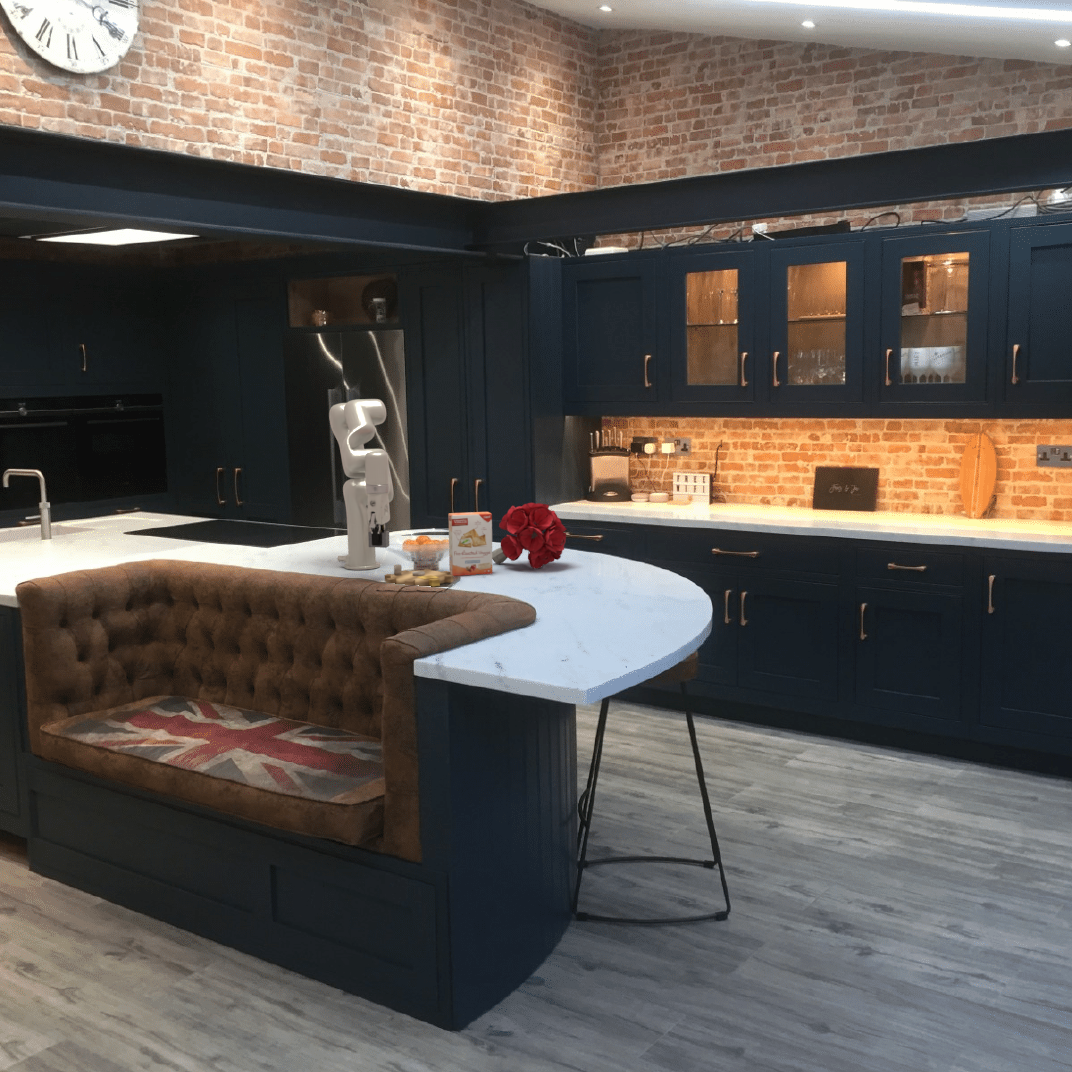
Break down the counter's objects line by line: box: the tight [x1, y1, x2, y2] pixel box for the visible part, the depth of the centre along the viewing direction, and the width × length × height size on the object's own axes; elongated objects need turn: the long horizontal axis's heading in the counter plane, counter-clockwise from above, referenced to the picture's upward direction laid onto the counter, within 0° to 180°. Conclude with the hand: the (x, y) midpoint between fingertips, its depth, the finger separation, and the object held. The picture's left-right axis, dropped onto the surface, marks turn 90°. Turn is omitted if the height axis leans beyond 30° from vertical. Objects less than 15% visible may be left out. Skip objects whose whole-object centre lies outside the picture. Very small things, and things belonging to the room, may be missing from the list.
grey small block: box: [368, 530, 390, 549], centre depth 388 cm, size 6×4×5 cm, turn 80°
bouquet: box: [492, 502, 567, 570], centre depth 409 cm, size 22×24×30 cm
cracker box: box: [448, 511, 493, 577], centre depth 396 cm, size 14×6×21 cm, turn 105°
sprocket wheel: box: [384, 564, 454, 587], centre depth 378 cm, size 22×22×5 cm
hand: (378, 543), depth 388 cm, fingers closed on grey small block, 3 cm apart
